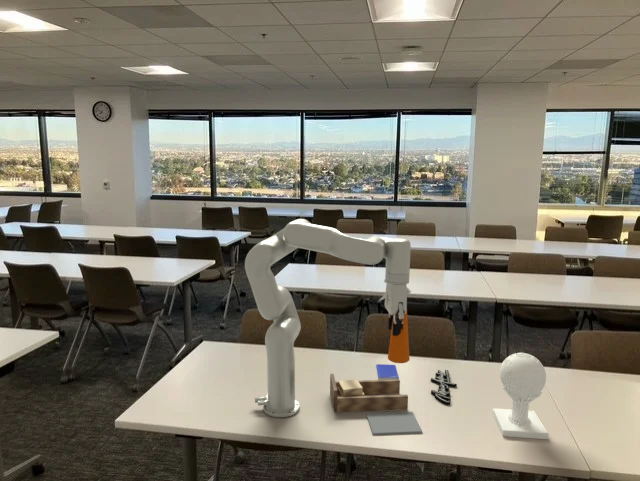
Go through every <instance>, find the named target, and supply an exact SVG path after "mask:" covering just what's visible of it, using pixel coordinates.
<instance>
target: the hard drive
mask: <svg viewBox="0 0 640 481" xmlns="http://www.w3.org/2000/svg"><path fill="white" fill-rule="evenodd" d="M375 365H376V366H375V368H376V374H377V380H396V379H399V380H400V377H399V374H398V370H397V366H396V364H383V363H382V364H375Z"/></svg>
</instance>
